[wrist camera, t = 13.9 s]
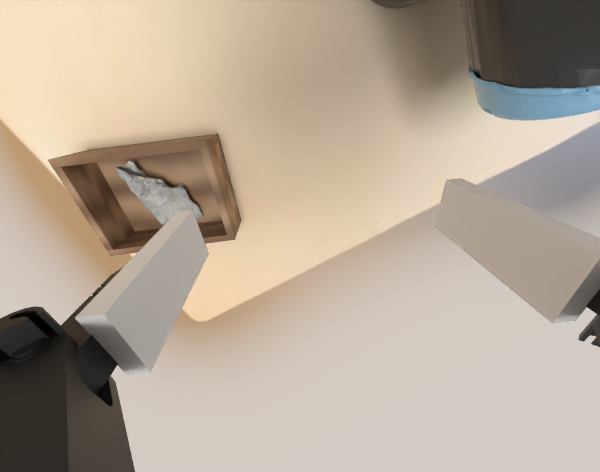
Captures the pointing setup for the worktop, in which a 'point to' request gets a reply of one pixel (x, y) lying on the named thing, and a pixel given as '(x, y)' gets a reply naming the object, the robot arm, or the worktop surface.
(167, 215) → the mineral specimen
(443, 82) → the worktop surface
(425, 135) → the worktop surface
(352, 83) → the worktop surface
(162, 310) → the robot arm
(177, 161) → the walnut well
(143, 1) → the worktop surface
